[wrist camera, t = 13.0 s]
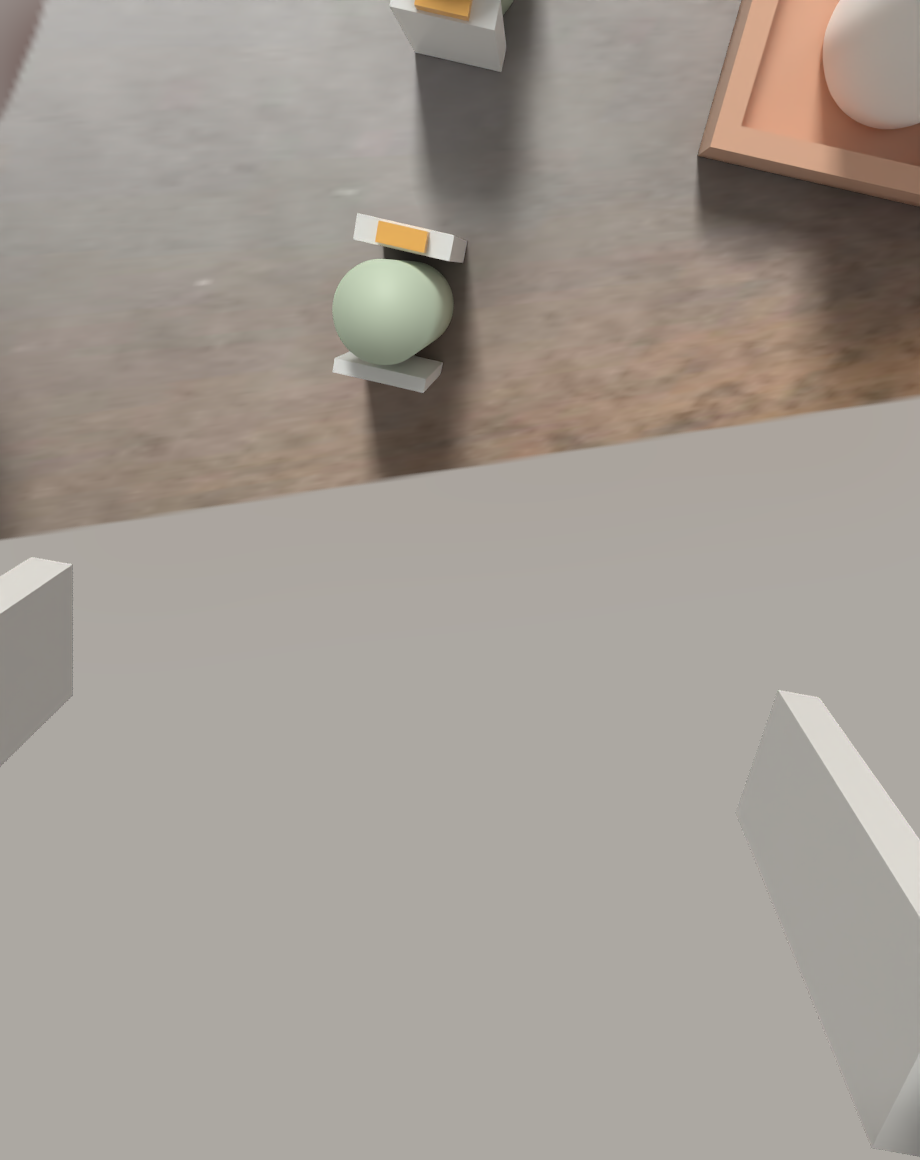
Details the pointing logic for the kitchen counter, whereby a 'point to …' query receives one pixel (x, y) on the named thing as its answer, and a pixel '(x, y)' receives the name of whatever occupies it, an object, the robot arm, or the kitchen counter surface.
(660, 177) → the kitchen counter surface
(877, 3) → the can
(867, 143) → the tray
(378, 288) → the peg
